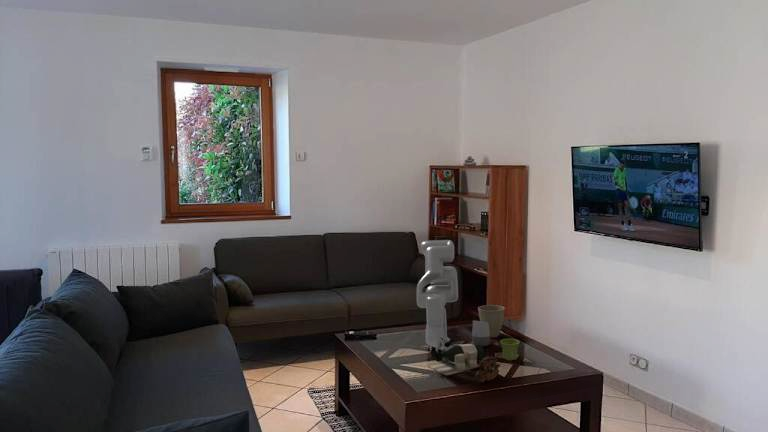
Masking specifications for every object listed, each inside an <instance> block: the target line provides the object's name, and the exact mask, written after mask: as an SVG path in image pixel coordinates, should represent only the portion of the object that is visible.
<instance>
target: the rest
mask: <svg viewBox="0 0 768 432" xmlns="http://www.w3.org/2000/svg"><path fill="white" fill-rule="evenodd" d="M453 345H458V343H456V344H455V343H454V344H453ZM447 348H448V346H445V350H446V349H447ZM439 349H440V348H438V350H439ZM443 351H444V350H443ZM427 366H428V367H427ZM426 367H427V368H430V369H432V370H433V371H436V372H438V373H440V374H442V375H444V376H446V375H447V376H450V375H454V374H457V373H462V372H465V371H469V370H472V369H477V368H480V367H479V363H478V361H477V354H476V352H475V351H470V352H467V362H465V355H464V354H457V355H455V362H454V363H453V362H451V361H449V360H447V359H446V358H442V361H439V362H434V363H430V364H427V365H426Z"/></svg>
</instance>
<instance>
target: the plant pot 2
mask: <svg viewBox="0 0 768 432" xmlns="http://www.w3.org/2000/svg"><path fill="white" fill-rule="evenodd" d="M499 342H500V345H501V348H502V354H503V359H505V361H513V360H514V361H515V360H517V357H518V350H519V345H520V340H518V339H514V338H503V339H501V340H499Z"/></svg>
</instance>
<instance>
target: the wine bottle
mask: <svg viewBox="0 0 768 432" xmlns="http://www.w3.org/2000/svg"><path fill="white" fill-rule="evenodd" d="M470 351H475V352H476V354H477V362H480V361H481V360H482V359H483V358H484V355H485V354H484V353H485V352H484V351H485V350H484V347H482V346H481V345H480V344H474V343H465V344H464V343H463V344H457V345H454V344H450V345H449V346H447V349H446V350H444V351H443V352H442V358H446V359H447V360H449V361H451V362H453V363H454V362H455V355H457V354H464V355H465V362H467V352H470ZM427 357H428V358H429V359H431V360H432V359H433V360H436V351H429V352H428V353H427Z"/></svg>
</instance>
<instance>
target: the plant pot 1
mask: <svg viewBox="0 0 768 432" xmlns="http://www.w3.org/2000/svg"><path fill="white" fill-rule="evenodd" d="M477 311H478V317H479V321H481V322H487V323H488V325H489V332H490V338H498V337H499V336H500V333H501V330H502V327H503V323H504V318H505V317H504V316H505V307H504V306H502V305H495V304H490V305H489V304H487V305H486V304H485V305H481V306H478V307H477Z"/></svg>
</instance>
